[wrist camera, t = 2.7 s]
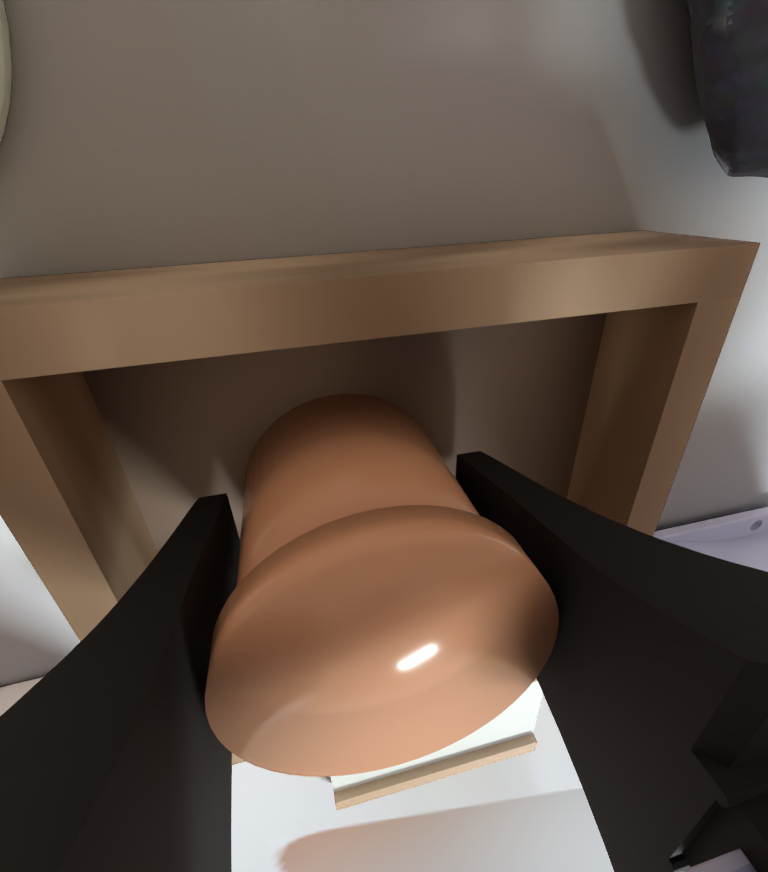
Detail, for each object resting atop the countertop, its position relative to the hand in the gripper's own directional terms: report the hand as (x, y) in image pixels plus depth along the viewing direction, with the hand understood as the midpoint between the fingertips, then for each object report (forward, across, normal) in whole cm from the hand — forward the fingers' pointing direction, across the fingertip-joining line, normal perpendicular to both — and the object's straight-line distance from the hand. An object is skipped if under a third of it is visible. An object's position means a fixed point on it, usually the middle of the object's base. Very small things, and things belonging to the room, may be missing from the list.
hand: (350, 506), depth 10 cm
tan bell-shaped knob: (+1, 0, 0) cm, 1 cm away
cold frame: (+2, -1, 0) cm, 2 cm away
